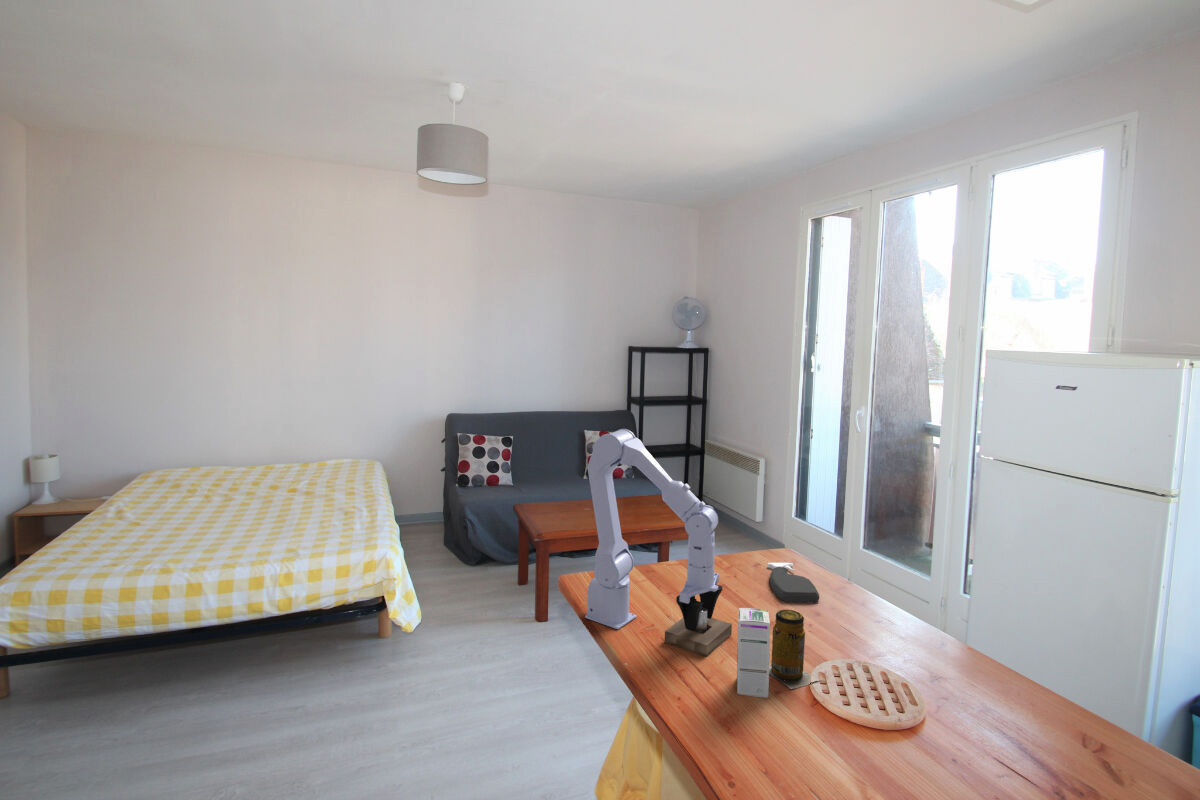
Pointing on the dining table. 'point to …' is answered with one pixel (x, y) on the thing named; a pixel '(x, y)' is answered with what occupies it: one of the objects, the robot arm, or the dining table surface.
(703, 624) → the pin
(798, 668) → the condiment
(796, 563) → the dining table surface
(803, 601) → the spray bottle
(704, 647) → the bore block
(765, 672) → the syrup box
